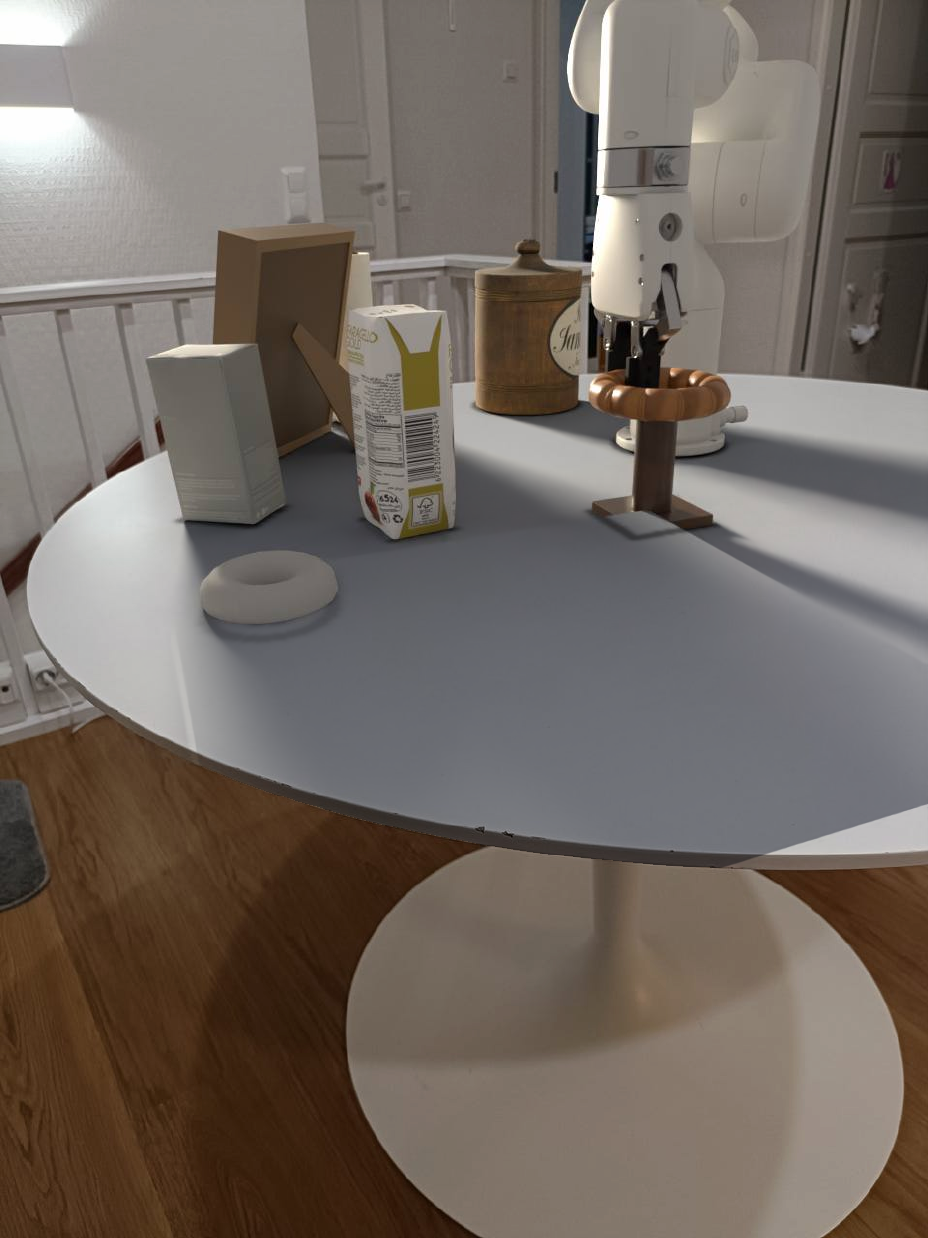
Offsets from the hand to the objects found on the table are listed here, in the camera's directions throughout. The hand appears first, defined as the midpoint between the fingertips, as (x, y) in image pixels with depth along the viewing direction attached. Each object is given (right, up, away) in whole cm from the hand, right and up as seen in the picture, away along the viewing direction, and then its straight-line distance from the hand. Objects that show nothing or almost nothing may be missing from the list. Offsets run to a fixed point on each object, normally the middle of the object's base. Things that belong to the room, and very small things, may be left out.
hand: (630, 395), depth 81 cm
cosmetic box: (-38, -11, +5) cm, 40 cm away
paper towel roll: (-30, +7, +40) cm, 51 cm away
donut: (-30, -20, -16) cm, 39 cm away
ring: (+2, -1, -4) cm, 5 cm away
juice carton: (-21, -12, +1) cm, 24 cm away
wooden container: (-6, +10, +46) cm, 47 cm away
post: (+2, -11, 0) cm, 11 cm away
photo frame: (-34, -1, +25) cm, 42 cm away
